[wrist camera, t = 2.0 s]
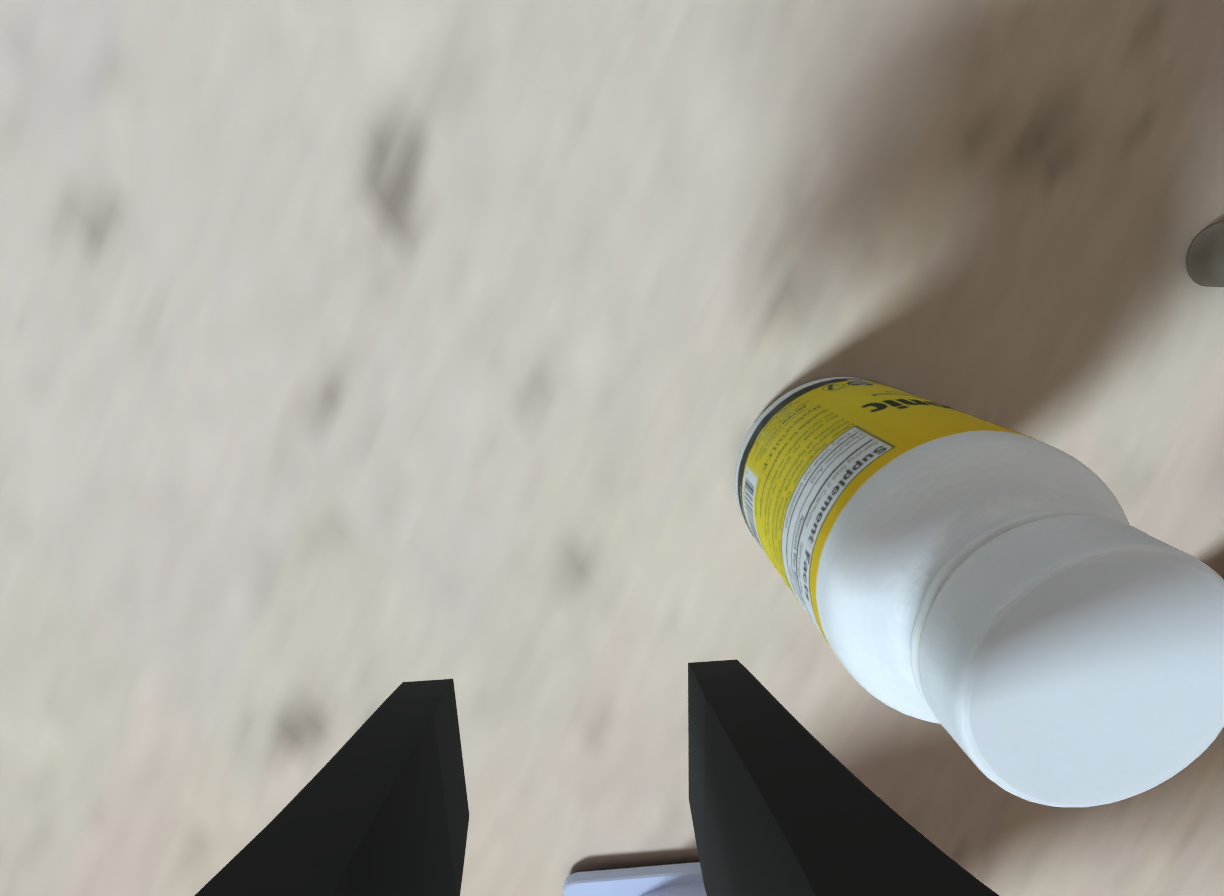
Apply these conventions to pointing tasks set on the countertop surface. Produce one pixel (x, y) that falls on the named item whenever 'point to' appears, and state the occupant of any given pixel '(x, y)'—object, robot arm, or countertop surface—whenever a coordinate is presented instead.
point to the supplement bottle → (988, 589)
